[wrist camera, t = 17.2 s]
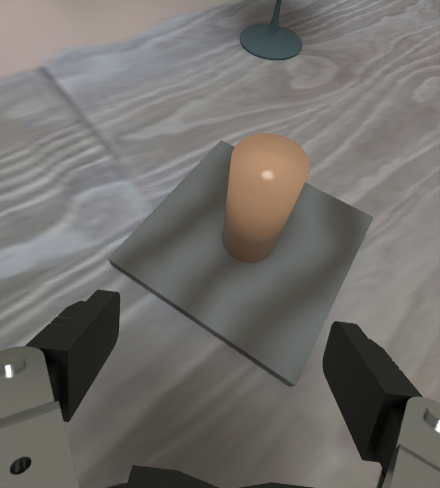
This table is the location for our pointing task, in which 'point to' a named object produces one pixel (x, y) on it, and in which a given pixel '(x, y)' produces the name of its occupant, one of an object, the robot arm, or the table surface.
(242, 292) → the charcoal board
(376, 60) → the table surface
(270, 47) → the cocktail glass
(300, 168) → the tan dome-topped cylinder
